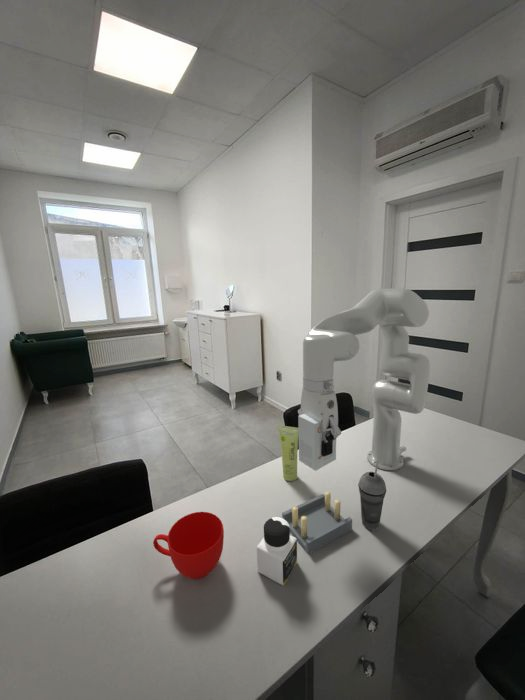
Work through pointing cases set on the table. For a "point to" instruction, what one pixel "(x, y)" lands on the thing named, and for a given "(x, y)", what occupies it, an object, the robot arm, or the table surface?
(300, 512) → the pin tray
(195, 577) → the ceramic cup
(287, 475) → the tube
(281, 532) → the medicine bottle
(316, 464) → the small box
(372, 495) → the beverage cup
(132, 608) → the table surface
